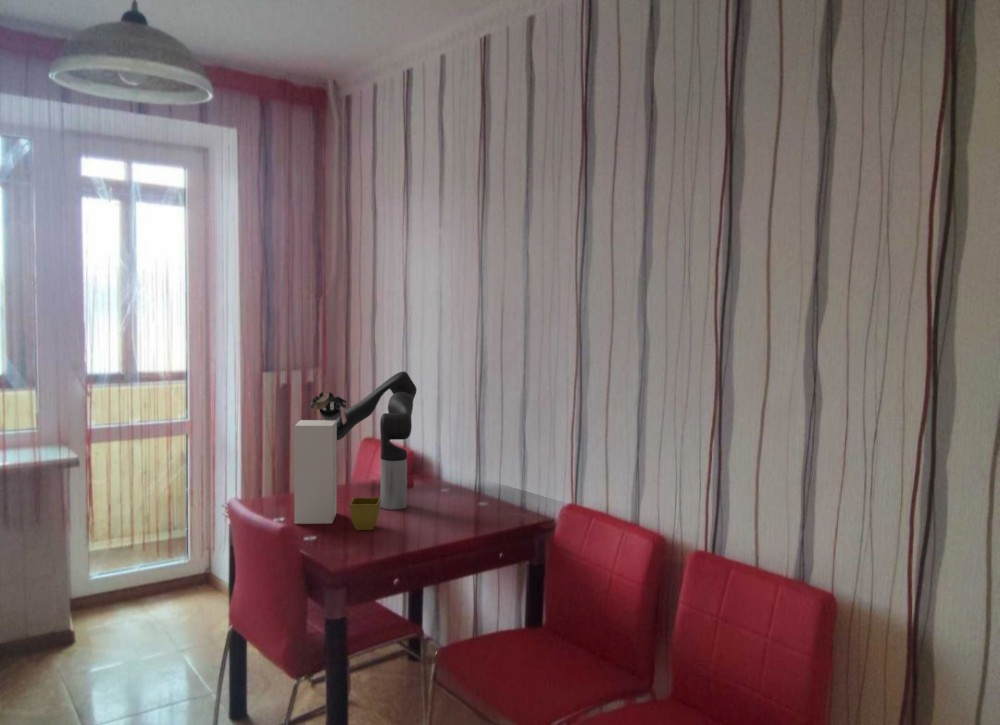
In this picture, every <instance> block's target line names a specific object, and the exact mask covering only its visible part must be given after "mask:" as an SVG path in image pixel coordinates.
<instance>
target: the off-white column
mask: <svg viewBox="0 0 1000 725" xmlns="http://www.w3.org/2000/svg"><path fill="white" fill-rule="evenodd" d="M293 428H294V432H293V433H294V440H293V442H294V444H293V445H294V446H293V447H294V453H293V454H294V461H293V462H294V465H293V466H294V471H293V472H294V487H293V488H294V505H293V506H294V517H293V518H294V522H293V523H294V524H295V525H299V524H300V525H303V524H305V525H307V524H309V525H311V524H315V525H316V524H333V522H334V520H335V518H336V515H337V475H338V474H337V473H338V472H337V466H338V465H337V460H338V459H337V453H338V452H337V450H338V449H337V445H338V442H337V441H338V440H337V420H323V419H322V420H321V419H320V420H319V419H316V420H315V419H314V420H313V419H301V420H299V421H298V422H297V423H296V424H295V425H294V427H293Z"/></svg>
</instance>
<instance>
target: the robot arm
mask: <svg viewBox="0 0 1000 725" xmlns="http://www.w3.org/2000/svg"><path fill="white" fill-rule="evenodd" d="M389 390H390V391H391V393H392V396H390V398H389V401H388V405H387V411H388V412H387V413H383V414H382V415H381V416H380V420H379V428H380V429H379V432H380V489H379V490H380V494H379V495H380V497H379V498H381V500H380V508H382V509H384V510H392V511H393V510H402V509H407V505H408V495H407V494H408V478H407V477H408V451H407V450H406V449H405V448H402V447H399V446H397V445H395V444H393V442H391V441H390V440H392V441H393V440H399V441H400V440H407V439H408V438H409V437H410V436H411V432H412V428H413V427H412V415H413V410H414V408H413V407H414V399H415V397H416V394H417V387H416V384H415V383H414V381H413V379H412V378H411V377H410V376H409V374H408V373H407V371H400V372H397V373H396V374H394V375H392V376H390V378H388V379H387V380H385V382H383V383H382V384H381V385H379V386H378V387H376V389H374V390H372V392H370V393H369V394H368V395H367V396H366V397H364V398H362V399H361V400H360V401H358V402H357V403H355V404H353V405H352V406H350V407H349V408H347V401H346V400H345V399H343V398H342V397H340V396H335V395H334V393H332V392H329V393H328V394H329V400H330V402H329V403H328V405H327V406H326V407H325V408H324V409H318V410H319V413H320V417H321V419H322V420H337V441H340V440H342V439H344V437H346V435H347V434H348V433H349V432H350V431H351V430H352V429H353V428H354V427H355V426H356V425H357V424H359V423H360V422H362V421H364V420H365V419H367V418H369V417H370V416H371V415H372V414H373V412H375V409H376V408H377V405H378V403H379V402H380V400H381V398H382V396H383V395H384V394H386V392H387V391H389ZM324 394H325V393H324V392H320V393H319V394H318V396H315V397H313V399H311V401H310V408H311V409H313V408H316V402H317V401H318V400H319V399H320V398H321V397H322V396H323V395H324ZM341 408H342V409H345V411H344V416H345V422H344V423H343V420H342V419H343V418H342V410H341ZM346 408H347V409H346Z"/></svg>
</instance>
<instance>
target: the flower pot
mask: <svg viewBox="0 0 1000 725" xmlns="http://www.w3.org/2000/svg"><path fill="white" fill-rule="evenodd" d="M380 500H381V498H380V497H353V498H352V499H351V502H350V503H349V511H350V512H349V513H350V517H351V518H350V519H351V523H352V524H353V527H354V528H355V530H356V531H372V530H374V527H375V526H376V524H377V521H378V520H379V515H380V512H381V511H380V508H381V507H380Z"/></svg>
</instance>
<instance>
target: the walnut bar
mask: <svg viewBox="0 0 1000 725" xmlns="http://www.w3.org/2000/svg"><path fill="white" fill-rule="evenodd" d="M323 394H324V395H323V396H322V397H321V398H320V399H319V400H318V401H317V402H316V407H315V408H316V410H319V409H324V408H325V407H326V406H327V405H328V403H329V402H330V400H329V393H323Z"/></svg>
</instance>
